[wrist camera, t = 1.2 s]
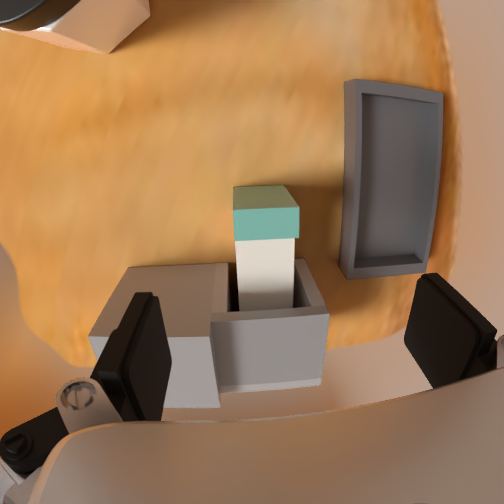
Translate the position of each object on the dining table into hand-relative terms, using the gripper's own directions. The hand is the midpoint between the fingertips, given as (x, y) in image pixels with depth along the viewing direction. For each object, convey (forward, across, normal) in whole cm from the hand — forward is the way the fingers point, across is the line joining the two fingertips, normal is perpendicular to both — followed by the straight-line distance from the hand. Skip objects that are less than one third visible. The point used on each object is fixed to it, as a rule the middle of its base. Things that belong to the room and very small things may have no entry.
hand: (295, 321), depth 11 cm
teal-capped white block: (+16, 0, +5) cm, 17 cm away
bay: (+16, +4, +9) cm, 19 cm away
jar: (+16, +12, -18) cm, 27 cm away
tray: (+16, -11, -2) cm, 20 cm away
